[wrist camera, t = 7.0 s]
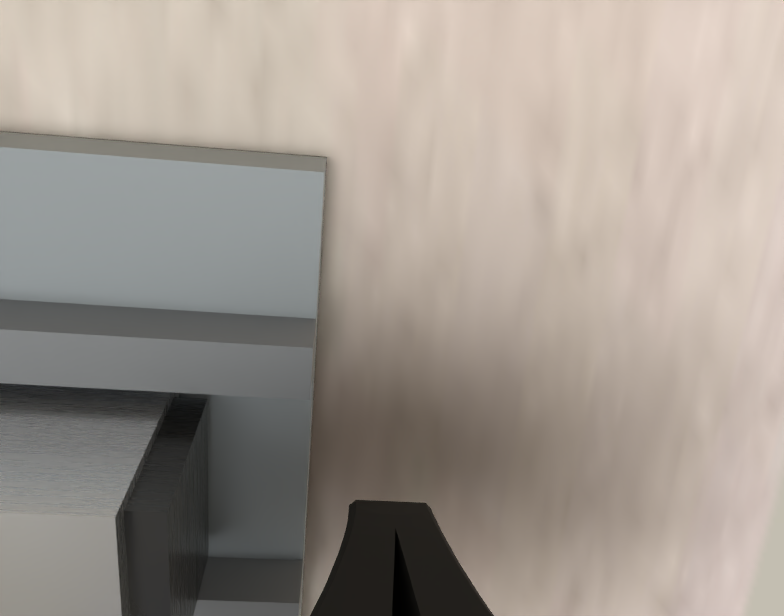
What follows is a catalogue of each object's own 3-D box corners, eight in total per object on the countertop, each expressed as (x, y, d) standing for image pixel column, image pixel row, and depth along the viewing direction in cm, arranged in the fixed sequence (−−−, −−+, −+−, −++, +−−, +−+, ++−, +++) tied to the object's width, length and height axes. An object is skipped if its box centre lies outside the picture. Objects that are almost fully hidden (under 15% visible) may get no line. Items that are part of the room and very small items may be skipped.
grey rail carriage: (212, 549, 15) (167, 724, 12) (-71, 538, 15) (-209, 716, 11) (211, 378, 14) (160, 519, 10) (-105, 360, 13) (-277, 501, 10)
